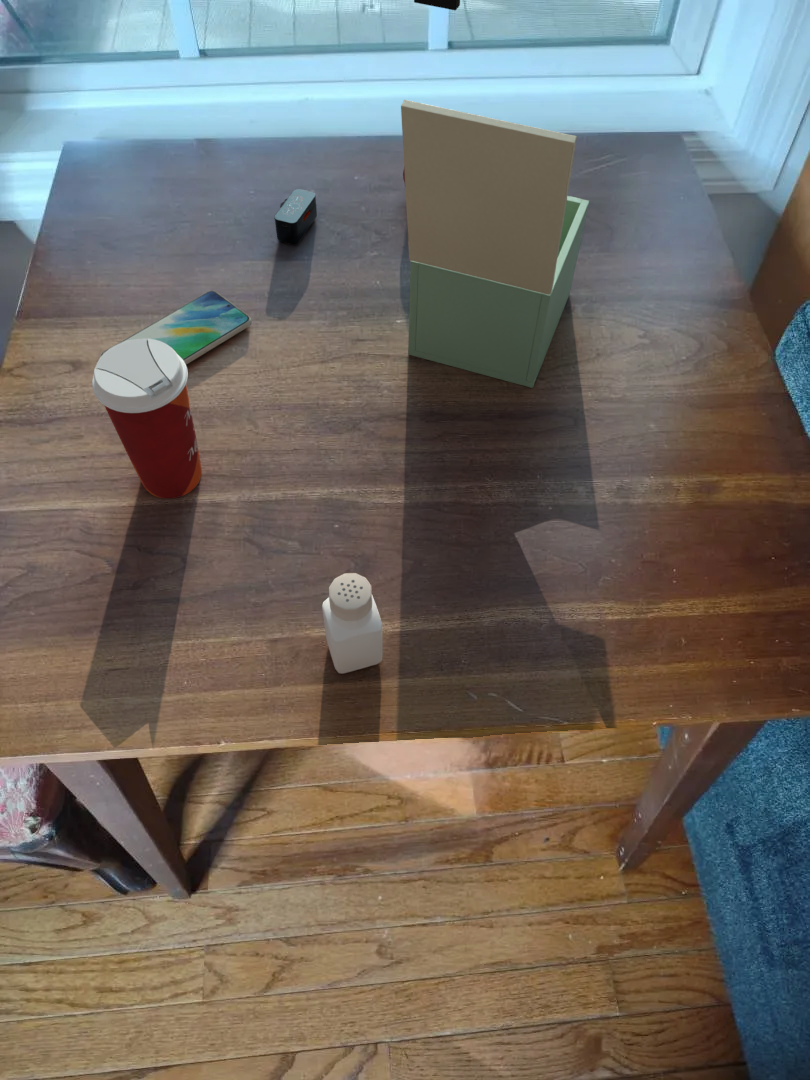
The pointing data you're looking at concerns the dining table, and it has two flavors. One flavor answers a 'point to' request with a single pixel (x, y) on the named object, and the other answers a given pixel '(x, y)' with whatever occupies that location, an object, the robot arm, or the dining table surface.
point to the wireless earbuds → (295, 216)
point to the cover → (485, 194)
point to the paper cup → (151, 413)
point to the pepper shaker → (352, 624)
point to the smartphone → (196, 326)
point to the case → (492, 313)
